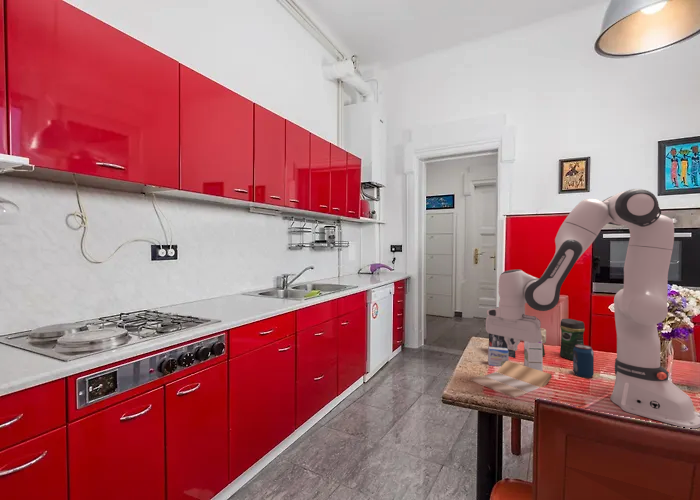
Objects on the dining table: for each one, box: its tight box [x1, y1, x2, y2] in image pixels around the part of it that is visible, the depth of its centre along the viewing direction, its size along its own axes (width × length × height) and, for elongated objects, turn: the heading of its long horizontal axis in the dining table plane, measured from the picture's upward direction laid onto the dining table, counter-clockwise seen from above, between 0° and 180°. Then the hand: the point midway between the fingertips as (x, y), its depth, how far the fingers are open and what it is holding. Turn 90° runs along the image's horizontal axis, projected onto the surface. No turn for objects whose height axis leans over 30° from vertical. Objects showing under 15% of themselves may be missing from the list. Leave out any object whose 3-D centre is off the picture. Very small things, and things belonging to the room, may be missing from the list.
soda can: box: [572, 344, 595, 379], centre depth 138 cm, size 7×7×12 cm
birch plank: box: [469, 375, 529, 399], centre depth 123 cm, size 18×8×2 cm, turn 33°
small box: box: [488, 333, 517, 359], centre depth 165 cm, size 13×7×12 cm, turn 6°
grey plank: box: [484, 371, 541, 393], centre depth 128 cm, size 18×8×2 cm, turn 33°
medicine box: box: [487, 346, 510, 367], centre depth 147 cm, size 8×4×9 cm, turn 73°
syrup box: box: [523, 340, 544, 372], centre depth 142 cm, size 6×6×14 cm
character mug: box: [540, 327, 547, 356], centre depth 164 cm, size 11×7×13 cm, turn 6°
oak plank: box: [496, 360, 553, 388], centre depth 132 cm, size 18×8×2 cm, turn 32°
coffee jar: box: [559, 318, 586, 361], centre depth 160 cm, size 10×8×19 cm
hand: (512, 349), depth 125 cm, fingers closed
